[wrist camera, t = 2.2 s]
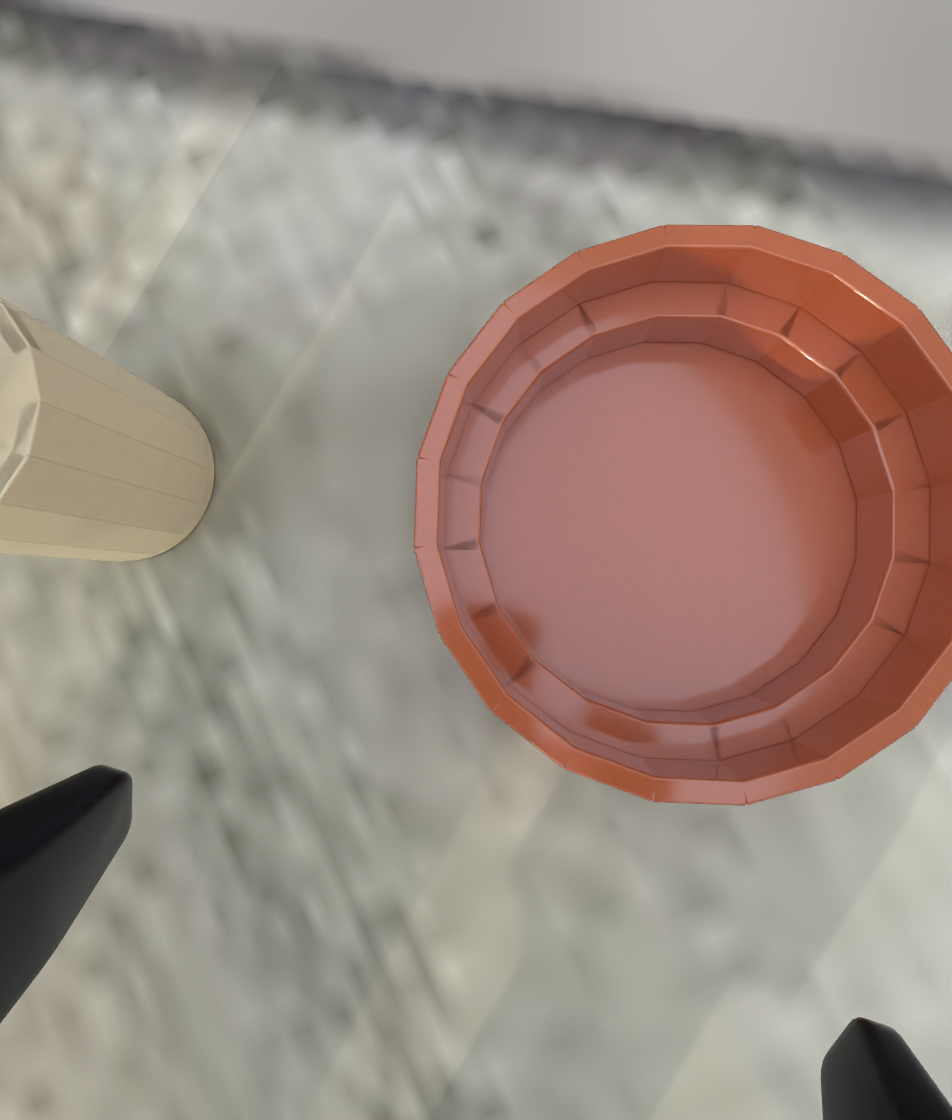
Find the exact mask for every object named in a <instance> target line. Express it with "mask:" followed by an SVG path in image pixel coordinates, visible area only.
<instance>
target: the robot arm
mask: <svg viewBox="0 0 952 1120" xmlns="http://www.w3.org/2000/svg"><path fill="white" fill-rule="evenodd" d="M131 818H132V778H131V776H130V775H129V774H128V773H126V772H124V771H121V770H118V769H115V768H112V767H109V766H105V765H97V766H93V767H91V768H88V769H86V770H84V771H82V772H80V773H78V774H75V775H73V776H71V777H69V778H67V779H65V780H62V781H60V782H58V783H56V784H54V785H52V786H49V787H47V788H45V789H43V790H41V791H38V792H36V793H34V794H32V795H30V796H28V797H25V798H23V799H21V800H19V801H17V802H15V803H12V804H10V805H8V806H6V807H4V808H2V809H0V1023H1V1022H2V1021H3V1019H4V1018H5V1017H6V1015H7V1014H8V1013H9V1011H10V1010H11V1009H12V1007H13V1006H14V1005H15V1004H16V1002H17V1001H18V1000H19V998H20V997H21V996H22V994H23V993H24V992H25V990H26V989H27V988H28V987H29V985H30V984H31V983H32V981H33V980H34V979H35V977H36V976H37V975H38V973H39V972H40V971H41V969H42V968H43V967H44V965H45V964H46V962H47V961H48V960H49V958H50V957H51V956H52V954H53V953H54V951H55V950H56V948H57V947H58V945H59V943H60V942H61V940H62V939H63V937H64V936H65V934H66V933H67V931H68V929H69V928H70V926H71V925H72V923H73V921H74V920H75V918H76V917H77V915H78V913H79V912H80V910H81V909H82V907H83V905H84V904H85V902H86V901H87V899H88V897H89V896H90V894H91V893H92V891H93V889H94V888H95V886H96V884H97V883H98V881H99V880H100V878H101V876H102V875H103V873H104V872H105V870H106V868H107V867H108V865H109V864H110V862H111V860H112V859H113V857H114V856H115V854H116V852H117V851H118V849H119V848H120V846H121V844H122V843H123V841H124V839H125V838H126V835H127V833H128V831H129V828H130V824H131ZM821 1090H822V1109H823V1120H952V1106H951V1105H950V1103H949V1102H948V1101H947V1099H946V1098H945V1096H944V1095H943V1094H942V1092H941V1091H940V1090H939V1088H938V1087H937V1085H936V1084H935V1083H934V1081H933V1080H932V1078H931V1077H930V1076H929V1074H928V1073H927V1072H926V1070H925V1069H924V1067H923V1066H922V1065H921V1063H920V1062H919V1060H918V1059H917V1058H916V1056H915V1055H914V1054H913V1052H912V1051H911V1049H910V1048H909V1047H908V1045H907V1044H906V1042H905V1041H904V1040H903V1038H902V1037H901V1036H900V1035H899V1034H898V1033H897V1032H896V1031H895V1030H894V1029H892V1028H891V1027H889V1026H886V1025H883V1024H880V1023H877V1022H874V1021H871V1020H868V1019H865V1018H861V1017H858V1018H856V1019H853V1020H852V1021H851V1022H850V1023H849V1024H848V1026H847V1027H846V1028H845V1030H844V1031H843V1032H842V1034H841V1035H840V1036H839V1038H838V1039H837V1040H836V1042H835V1043H834V1044H833V1046H832V1047H831V1048H830V1050H829V1051H828V1052H827V1054H826V1055H825V1058H824V1060H823V1064H822V1068H821Z"/></svg>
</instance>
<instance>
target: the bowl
mask: <svg viewBox="0 0 952 1120" xmlns="http://www.w3.org/2000/svg"><path fill="white" fill-rule="evenodd" d="M917 308H918V307H917V306H916V305H914V304H913V303H911V302H910V301H909V300H907V299H906V298H904V297H903V296H902V295H900V294H899V293H897V292H896V291H895V290H893V289H892V288H890V287H889V286H888V285H886V284H885V283H884V282H882V281H881V280H879V279H878V278H877V277H875V276H874V275H872V274H871V273H870V272H868V271H867V270H865V269H864V268H863V267H861V266H860V265H858V264H857V263H856V262H854V261H853V260H851V259H850V258H849V257H847V256H846V255H843V254H842V253H840V252H837V251H834V250H831V249H828V248H825V247H822V246H819V245H816V244H813V243H810V242H806V241H803V240H800V239H797V238H794V237H791V236H788V235H785V234H782V233H779V232H776V231H773V230H769V229H766V228H763V227H760V226H753V225H665V226H658V227H655V228H652V229H648V230H645V231H642V232H639V233H635V234H632V235H629V236H625V237H622V238H619V239H616V240H612V241H609V242H606V243H602V244H599V245H596V246H593V247H589V248H586V249H583V250H580V251H578V253H577V252H575V253H573V254H572V255H570V256H569V257H568V258H566V259H565V260H563V261H562V262H560V263H559V264H557V265H556V266H554V267H553V268H552V269H550V270H549V271H547V272H546V273H544V274H543V275H541V276H540V277H538V278H537V279H536V280H534V281H533V282H531V283H530V284H528V285H527V286H525V287H524V288H522V289H521V290H520V291H518V292H517V293H515V294H514V295H512V296H511V297H509V298H508V299H506V300H505V301H504V302H503V303H502V304H501V305H500V306H499V307H498V309H497V310H496V311H495V312H494V314H493V315H492V316H491V318H490V319H489V320H488V322H487V323H486V324H485V325H484V327H483V328H482V329H481V331H480V332H479V333H478V334H477V336H476V337H475V338H474V340H473V341H472V342H471V343H470V345H469V346H468V347H467V349H466V350H465V351H464V353H463V354H462V355H461V356H460V358H459V359H458V360H457V362H456V363H455V364H454V365H453V367H452V368H451V369H450V371H449V373H448V375H447V376H446V378H445V381H444V384H443V387H442V390H441V392H440V395H439V398H438V401H437V403H436V406H435V409H434V412H433V414H432V417H431V420H430V423H429V426H428V428H427V431H426V434H425V437H424V439H423V442H422V445H421V448H420V450H419V453H418V458H417V464H416V494H415V524H414V547H415V549H414V550H415V554H416V557H417V561H418V564H419V568H420V571H421V575H422V578H423V582H424V585H425V589H426V592H427V596H428V599H429V603H430V606H431V609H432V613H433V616H434V620H435V623H436V627H437V630H438V633H439V634H441V635H440V637H441V639H442V640H443V642H444V643H445V645H446V646H447V648H448V649H449V651H450V652H451V654H452V655H453V657H454V658H455V660H456V661H457V663H458V664H459V666H460V667H461V669H462V670H463V672H464V673H465V675H466V676H467V677H468V679H469V680H470V682H471V683H472V685H473V686H474V688H475V689H476V691H477V692H478V694H479V695H480V697H481V698H482V700H483V701H484V703H485V704H486V706H487V707H488V709H490V710H492V713H493V714H494V715H496V716H497V717H498V718H499V719H501V720H502V721H503V722H505V723H506V724H507V725H508V726H510V727H511V728H512V729H513V730H515V731H516V732H517V733H519V734H520V735H521V736H522V737H524V738H525V739H526V740H527V741H529V742H530V743H531V744H533V745H534V746H535V747H536V748H538V749H539V750H540V751H541V752H543V753H544V754H545V755H547V756H548V757H549V758H550V759H552V760H553V761H554V762H555V763H557V764H558V765H559V766H561V767H564V768H565V769H566V770H568V771H571V772H573V773H576V774H579V775H582V776H584V777H587V778H590V779H592V780H595V781H598V782H600V783H603V784H606V785H609V786H611V787H614V788H617V789H619V790H622V791H625V792H627V793H630V794H633V795H635V796H638V797H641V798H644V799H646V800H652V801H653V802H670V803H694V804H718V805H741V806H744V805H746V804H748V805H749V804H753V803H756V802H760V801H764V800H767V799H771V798H774V797H778V796H781V795H785V794H788V793H792V792H796V791H799V790H803V789H806V788H810V787H813V786H817V785H821V784H824V783H828V782H831V781H835V780H836V779H840V778H841V777H843V776H844V775H846V774H847V773H849V772H850V771H852V770H853V769H855V768H856V767H858V766H859V765H861V764H862V763H864V762H865V761H867V760H868V759H870V758H871V757H873V756H874V755H876V754H877V753H878V752H880V751H881V750H883V749H884V748H886V747H887V746H889V745H890V744H892V743H893V742H895V741H896V740H898V739H899V738H901V737H902V736H904V735H905V734H907V733H908V732H910V731H911V730H913V729H914V728H915V726H917V725H918V724H919V722H920V721H921V720H922V719H923V717H924V716H925V715H926V713H927V712H928V711H929V709H930V708H931V707H932V705H933V704H934V703H935V702H936V700H937V699H938V698H939V696H940V695H941V694H942V692H943V691H944V690H945V689H946V687H947V686H948V685H949V683H950V682H951V681H952V352H951V351H950V349H949V348H948V347H947V345H946V344H945V343H944V341H943V340H942V338H941V337H940V336H939V334H938V333H937V332H936V330H935V329H934V328H933V326H932V325H931V324H930V322H929V321H928V320H927V318H926V317H925V315H924V314H923V313H922V311H921V310H919V309H917Z"/></svg>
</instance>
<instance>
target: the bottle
mask: <svg viewBox="0 0 952 1120" xmlns="http://www.w3.org/2000/svg"><path fill="white" fill-rule="evenodd" d="M213 484H214V459H213V453H212V449H211V445H210V443H209V440H208V438H207V435H206V433H205V431H204V430H203V428H202V426H201V424H200V423H199V422H198V420H197V419H196V418H195V416H194V415H193V414H192V413H191V412H190V411H189V410H188V409H187V408H186V407H185V406H183V405H182V404H181V403H179V402H178V401H177V400H175V399H173V398H171V397H170V396H168V395H166V394H165V393H163V392H162V391H160V390H159V389H157V388H156V387H154V386H152V385H151V384H149V383H147V382H145V381H144V380H142V379H140V378H138V377H137V376H135V375H133V374H131V373H130V372H128V371H126V370H124V369H123V368H121V367H119V366H117V365H116V364H114V363H112V362H111V361H109V360H107V359H105V358H104V357H102V356H100V355H98V354H97V353H95V352H93V351H91V350H90V349H88V348H86V347H84V346H83V345H81V344H79V343H77V342H76V341H74V340H72V339H70V338H69V337H67V336H65V335H64V334H62V333H60V332H58V331H57V330H55V329H53V328H51V327H50V326H48V325H46V324H44V323H43V322H41V321H39V320H37V319H36V318H34V317H32V316H30V315H29V314H27V313H25V312H23V311H22V310H20V309H18V308H16V307H15V306H13V305H11V304H10V303H8V302H6V301H4V300H3V299H1V298H0V553H5V554H19V555H33V556H47V557H61V558H75V559H89V560H103V561H134V560H140V559H146V558H150V557H153V556H156V555H159V554H161V553H163V552H165V551H167V550H169V549H171V548H172V547H174V546H176V545H177V544H178V543H180V542H181V541H182V540H183V539H185V538H186V537H187V536H188V535H189V534H190V533H191V531H192V530H193V529H194V528H195V527H196V525H197V524H198V523H199V521H200V520H201V518H202V516H203V514H204V513H205V511H206V509H207V506H208V504H209V501H210V498H211V494H212V491H213Z"/></svg>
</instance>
